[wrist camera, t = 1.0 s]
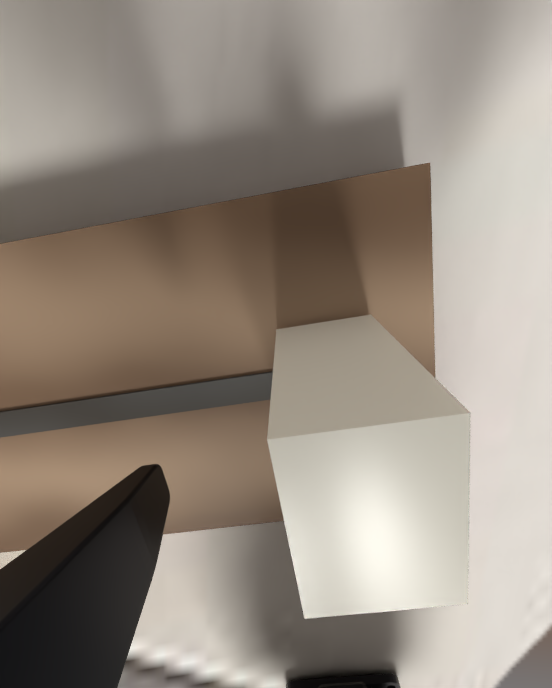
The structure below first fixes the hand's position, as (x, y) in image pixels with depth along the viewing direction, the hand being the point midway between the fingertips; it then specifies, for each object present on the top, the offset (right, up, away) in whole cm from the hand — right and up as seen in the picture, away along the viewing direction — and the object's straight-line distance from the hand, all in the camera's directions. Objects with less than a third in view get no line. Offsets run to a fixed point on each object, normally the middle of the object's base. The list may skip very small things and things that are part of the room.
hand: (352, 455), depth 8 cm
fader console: (-9, +1, +6) cm, 11 cm away
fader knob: (0, +1, +4) cm, 4 cm away
